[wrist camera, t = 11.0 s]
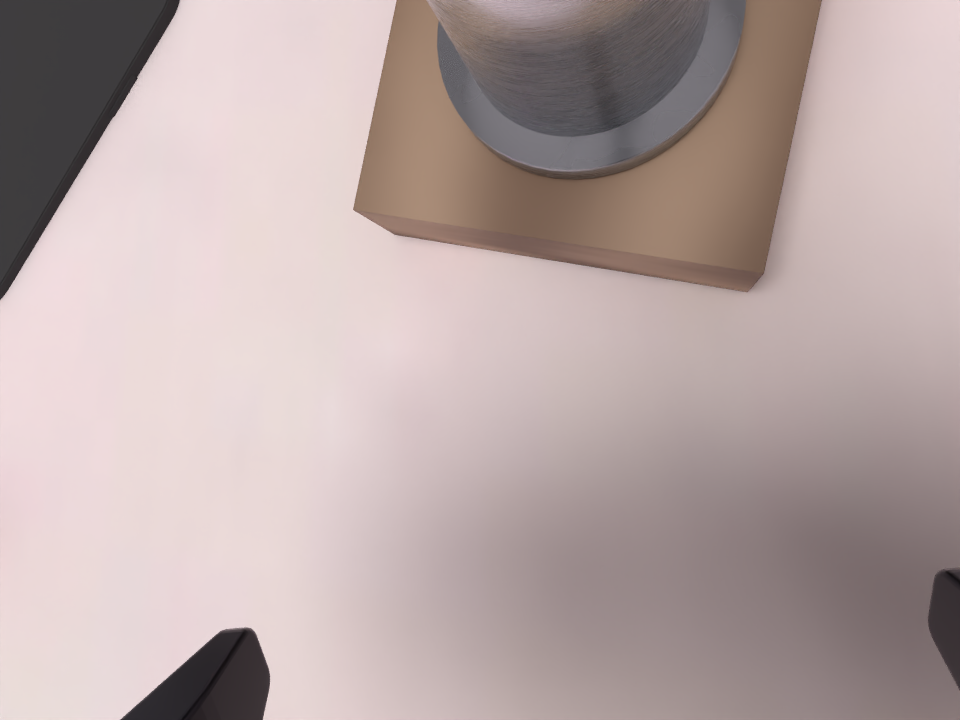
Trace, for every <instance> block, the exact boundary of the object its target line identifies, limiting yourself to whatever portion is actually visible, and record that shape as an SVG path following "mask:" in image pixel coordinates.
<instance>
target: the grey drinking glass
mask: <svg viewBox="0 0 960 720" xmlns="http://www.w3.org/2000/svg"><path fill="white" fill-rule="evenodd" d="M427 2H428V3H429V5H430V7H431V8H432V10H433V12H434V13H435V15H436V17H437V18H438V20H439V22H438V31H437V51H438V61H439V67H440V71H441V76H442V80H443V83H444V86H445V88H446V91H447V93H448V96H449V98H450V100H451V102H452V104H453V105H454V107H455V109H456V111H457V112H458V114H459V115H460V117H461V118H462V119H463V121H464V122H465V124H466V125H467V126H468V128H469V129H470V130H471V131H472V133H473V134H474V135H475V137H476V138H477V139H478V140H479V141H480V142H481V143H482V144H483V145H484V146H485V147H486V148H487V149H488V150H489V151H491V152H492V153H494V154H495V155H496V156H498V157H499V158H501V159H502V160H503V161H505V162H507V163H509V164H511V165H513V166H515V167H517V168H519V169H521V170H524V171H527V172H530V173H533V174H536V175H541V176H546V177H551V178H558V179H587V178H596V177H601V176H606V175H611V174H615V173H618V172H621V171H624V170H627V169H630V168H633V167H635V166H637V165H640V164H642V163H644V162H646V161H648V160H650V159H652V158H654V157H655V156H657V155H659V154H660V153H662V152H663V151H665V150H667V149H668V148H670V147H671V146H672V145H674V144H675V143H676V142H677V141H679V140H680V139H681V138H682V137H684V136H685V135H686V134H687V133H688V132H689V131H690V130H691V129H692V128H693V127H694V126H695V125H696V124H697V123H698V122H699V121H700V120H701V119H702V118H703V116H704V115H705V114H706V112H707V111H708V110H709V108H710V107H711V106H712V105H713V103H714V102H715V100H716V99H717V97H718V95H719V94H720V92H721V90H722V89H723V87H724V85H725V83H726V81H727V79H728V76H729V74H730V72H731V70H732V67H733V65H734V62H735V58H736V55H737V51H738V48H739V44H740V39H741V34H742V29H743V22H744V15H745V8H746V0H427Z"/></svg>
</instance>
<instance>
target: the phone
mask: <svg viewBox="0 0 960 720" xmlns="http://www.w3.org/2000/svg"><path fill="white" fill-rule="evenodd" d="M178 4H179V0H0V299H1V298H2V297H3V296H4V295H5V293H6V292H7V290H8V289H9V287H10V286H11V284H12V282H13V281H14V279H15V278H16V276H17V274H18V273H19V271H20V269H21V268H22V266H23V264H24V263H25V261H26V259H27V258H28V256H29V254H30V253H31V251H32V250H33V248H34V246H35V245H36V243H37V241H38V240H39V238H40V236H41V235H42V233H43V231H44V230H45V228H46V226H47V225H48V223H49V222H50V220H51V218H52V217H53V215H54V213H55V212H56V210H57V208H58V207H59V205H60V203H61V202H62V200H63V198H64V197H65V195H66V193H67V192H68V190H69V189H70V187H71V185H72V184H73V182H74V180H75V179H76V177H77V175H78V174H79V172H80V170H81V169H82V167H83V165H84V164H85V162H86V161H87V159H88V157H89V156H90V154H91V152H92V151H93V149H94V147H95V146H96V144H97V142H98V141H99V139H100V137H101V136H102V134H103V132H104V131H105V129H106V128H107V126H108V124H109V123H110V121H111V119H112V118H113V117H114V116H115V115H116V113H117V111H118V110H119V108H120V106H121V105H122V103H123V101H124V100H125V98H126V96H127V95H128V93H129V91H130V90H131V88H132V86H133V84H134V83H135V81H136V79H137V76H138V75H139V73H140V71H141V70H142V68H143V67H144V65H145V63H146V62H147V60H148V58H149V57H150V55H151V53H152V52H153V50H154V48H155V47H156V45H157V43H158V42H159V40H160V39H161V37H162V35H163V34H164V32H165V30H166V29H167V27H168V25H169V24H170V22H171V20H172V18H173V17H174V15H175V13H176V10H177V8H178Z"/></svg>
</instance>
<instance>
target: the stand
mask: <svg viewBox="0 0 960 720" xmlns="http://www.w3.org/2000/svg"><path fill="white" fill-rule="evenodd" d="M821 1H822V0H746V8H745V15H744V22H743V29H742V34H741V39H740V44H739V48H738V51H737V55H736V58H735V62H734V65H733V67H732V70H731V72H730V74H729V76H728V79H727V81H726V83H725V85H724V87H723V89H722V90H721V92H720V94H719V95H718V97H717V99H716V100H715V102H714V103H713V105H712V106H711V107H710V108H709V110H708V111H707V112H706V114H705V115H704V116H703V118H702V119H701V120H700V121H699V122H698V123H697V124H696V125H695V126H694V127H693V128H692V129H691V130H690V131H689V132H688V133H687V134H686V135H685V136H684V137H682V138H681V139H680V140H679V141H677V142H676V143H675V144H674V145H672V146H671V147H670V148H668V149H667V150H665V151H663V152H662V153H660V154H659V155H657V156H655V157H654V158H652V159H650V160H648V161H646V162H644V163H642V164H640V165H637V166H635V167H633V168H630V169H627V170H624V171H621V172H618V173H615V174H611V175H606V176H601V177H596V178H587V179H558V178H551V177H546V176H541V175H536V174H533V173H530V172H527V171H524V170H521V169H519V168H517V167H515V166H513V165H511V164H509V163H507V162H505V161H503V160H502V159H501V158H499V157H498V156H496V155H495V154H494V153H492V152H491V151H489V150H488V149H487V148H486V147H485V146H484V145H483V144H482V143H481V142H480V141H479V140H478V139H477V138H476V137H475V135H474V134H473V133H472V131H471V130H470V129H469V128H468V126H467V125H466V124H465V122H464V121H463V119H462V118H461V117H460V115H459V114H458V112H457V111H456V109H455V107H454V105H453V104H452V102H451V100H450V98H449V96H448V93H447V91H446V88H445V86H444V83H443V80H442V76H441V71H440V67H439V61H438V51H437V31H438V22H439V20H438V18H437V17H436V15H435V13H434V12H433V10H432V8H431V7H430V5H429V3H428V2H427V0H397V2H396V6H395V11H394V16H393V21H392V26H391V30H390V35H389V40H388V45H387V50H386V55H385V59H384V64H383V69H382V74H381V79H380V83H379V88H378V93H377V98H376V103H375V107H374V112H373V117H372V122H371V127H370V131H369V136H368V141H367V146H366V151H365V155H364V160H363V165H362V170H361V175H360V179H359V184H358V189H357V194H356V199H355V203H354V208H353V210H354V211H356V212H358V213H359V214H361V215H363V216H364V217H366V218H368V219H369V220H371V221H373V222H375V223H376V224H378V225H380V226H381V227H383V228H385V229H386V230H388V231H390V232H391V233H393V234H395V235H401V236H407V237H413V238H419V239H426V240H432V241H438V242H444V243H450V244H456V245H462V246H469V247H475V248H481V249H487V250H493V251H499V252H505V253H511V254H518V255H524V256H530V257H536V258H542V259H548V260H554V261H561V262H567V263H573V264H579V265H585V266H591V267H597V268H604V269H610V270H616V271H622V272H628V273H634V274H640V275H646V276H653V277H659V278H665V279H671V280H677V281H683V282H689V283H696V284H702V285H708V286H714V287H720V288H726V289H732V290H738V291H745V292H748V291H749V290H750V289H751V288H752V286H753V285H754V284H755V283H756V282H757V281H758V279H759V278H760V277H761V276H762V275H763V274H764V270H765V265H766V260H767V256H768V251H769V246H770V241H771V237H772V232H773V227H774V223H775V218H776V213H777V208H778V204H779V199H780V194H781V190H782V185H783V180H784V176H785V171H786V166H787V161H788V157H789V152H790V147H791V143H792V138H793V133H794V128H795V124H796V119H797V114H798V110H799V105H800V100H801V95H802V91H803V86H804V81H805V77H806V72H807V67H808V63H809V58H810V53H811V48H812V44H813V39H814V34H815V30H816V25H817V20H818V15H819V11H820V6H821Z"/></svg>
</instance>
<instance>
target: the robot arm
mask: <svg viewBox="0 0 960 720" xmlns="http://www.w3.org/2000/svg"><path fill="white" fill-rule="evenodd" d="M928 623H929V629H930V633H931V635H932V638H933V640H934V642H935V644H936V646H937V648H938V650H939V652H940V654H941V655H942V657H943V659H944V661H945V663H946V665H947V667H948V669H949V671H950V673H951V675H952V677H953V678H954V680H955V682H956V684H957V686H958V688H959V690H960V568H951V569H943V570H940V571H938V572H937V574H936V575H935V578H934V583H933V590H932V596H931V602H930V609H929V615H928ZM269 687H270V673H269V668H268V665H267V663H266V660H265V657H264V654H263V652H262V649H261V646H260V643H259V641H258V638H257V635H256V633H255V632H254V631H253V630H252V629H251V628H234V629H226V630H222V631H220V632H219V633H218V634H216V635H215V636H214V637H213V638H212V639H211V640H210V641H209V642H207V643H206V644H205V645H204V646H203V647H202V648H201V649H199V650H198V651H197V652H196V653H195V654H194V655H193V656H192V657H190V658H189V659H188V660H187V661H186V662H185V663H184V664H183V665H181V666H180V667H179V668H178V669H177V670H176V671H175V672H174V673H172V674H171V675H170V676H169V677H168V678H167V679H166V680H165V681H163V682H162V683H161V684H160V685H159V686H158V687H157V688H156V689H154V690H153V691H152V692H151V693H150V694H149V695H148V696H147V697H145V698H144V699H143V700H142V701H141V702H140V703H139V704H137V705H136V706H135V707H134V708H133V709H132V710H131V711H130V712H128V713H127V714H126V715H125V716H124V717H123V718H122V719H121V720H263V716H264V711H265V706H266V702H267V697H268V692H269Z"/></svg>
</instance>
